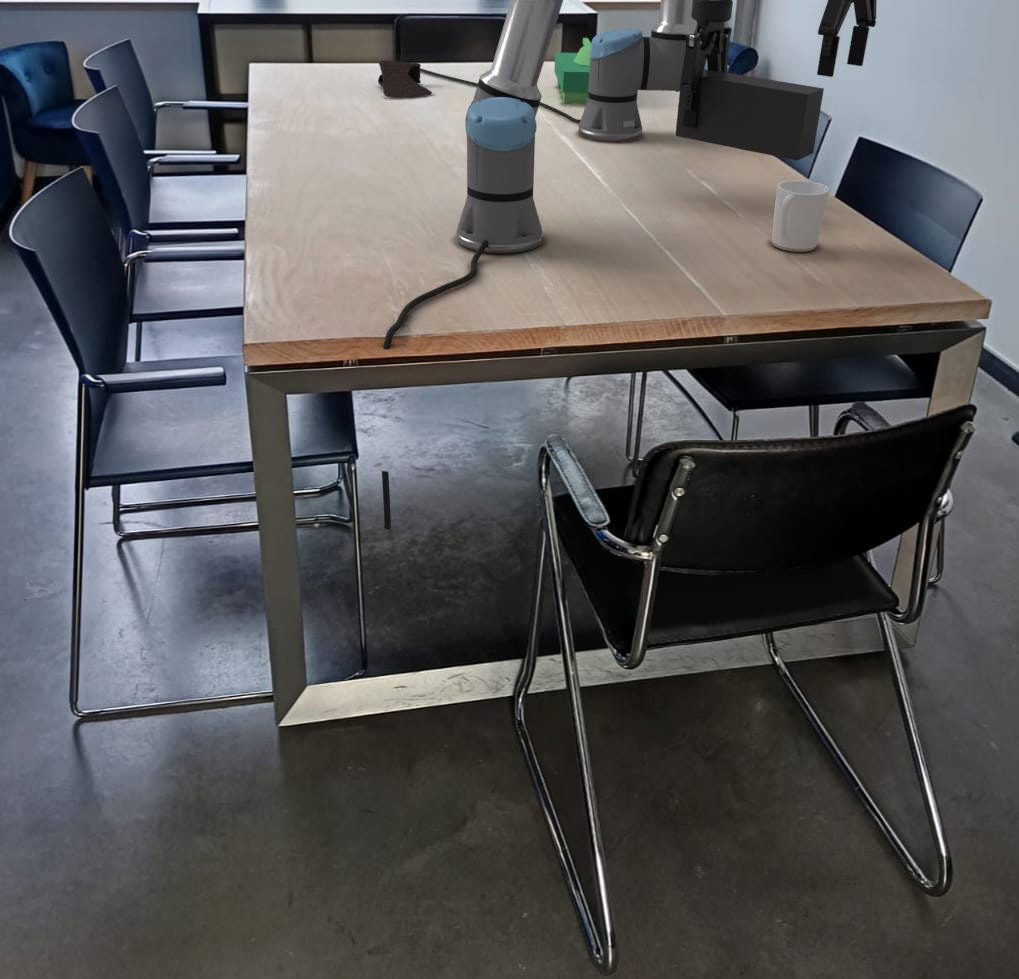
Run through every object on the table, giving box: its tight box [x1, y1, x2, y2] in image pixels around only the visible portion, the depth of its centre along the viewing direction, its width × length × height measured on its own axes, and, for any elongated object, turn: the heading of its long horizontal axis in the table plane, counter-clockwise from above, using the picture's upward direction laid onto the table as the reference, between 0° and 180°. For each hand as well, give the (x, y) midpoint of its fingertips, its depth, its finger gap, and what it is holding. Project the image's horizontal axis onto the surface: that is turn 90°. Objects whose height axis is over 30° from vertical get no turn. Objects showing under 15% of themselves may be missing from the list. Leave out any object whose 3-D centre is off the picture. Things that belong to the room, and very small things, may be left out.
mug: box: [770, 179, 830, 253], centre depth 193 cm, size 11×9×10 cm
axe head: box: [377, 59, 433, 99], centre depth 299 cm, size 18×8×15 cm
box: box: [674, 68, 825, 161], centre depth 210 cm, size 26×7×12 cm, turn 52°
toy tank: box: [554, 37, 592, 104], centre depth 300 cm, size 18×12×35 cm
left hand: (840, 70), depth 196 cm, fingers open, 13 cm apart
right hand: (699, 122), depth 217 cm, fingers closed on box, 7 cm apart
